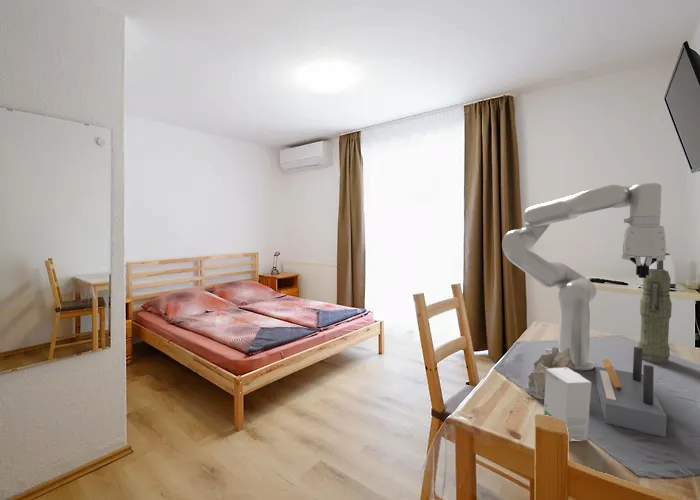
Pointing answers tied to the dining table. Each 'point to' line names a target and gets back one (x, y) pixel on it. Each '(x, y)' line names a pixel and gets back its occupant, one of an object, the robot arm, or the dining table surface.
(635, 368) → the dark grey cylinder
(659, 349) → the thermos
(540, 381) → the beige rock sculpture
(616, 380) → the wooden plank tile
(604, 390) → the strip
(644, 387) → the dark gray rod
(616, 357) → the dining table surface
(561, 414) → the skincare box
